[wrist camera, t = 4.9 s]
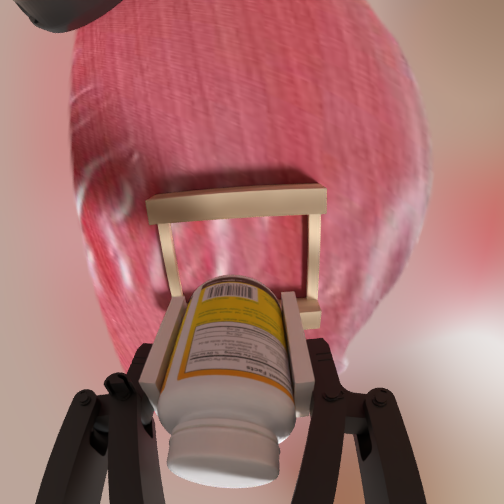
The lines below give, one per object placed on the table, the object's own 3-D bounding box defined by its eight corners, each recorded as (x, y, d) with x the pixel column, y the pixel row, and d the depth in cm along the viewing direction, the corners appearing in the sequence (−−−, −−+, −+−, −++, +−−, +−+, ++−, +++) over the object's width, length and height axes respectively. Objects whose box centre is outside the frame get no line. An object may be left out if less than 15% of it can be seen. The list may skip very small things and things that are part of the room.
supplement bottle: (230, 355, 18) (219, 497, 9) (171, 302, 16) (114, 454, 7) (299, 316, 17) (330, 474, 7) (241, 251, 15) (227, 431, 5)
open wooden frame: (155, 194, 23) (145, 200, 20) (319, 183, 22) (326, 188, 20) (179, 319, 28) (173, 334, 25) (315, 313, 27) (319, 328, 25)
